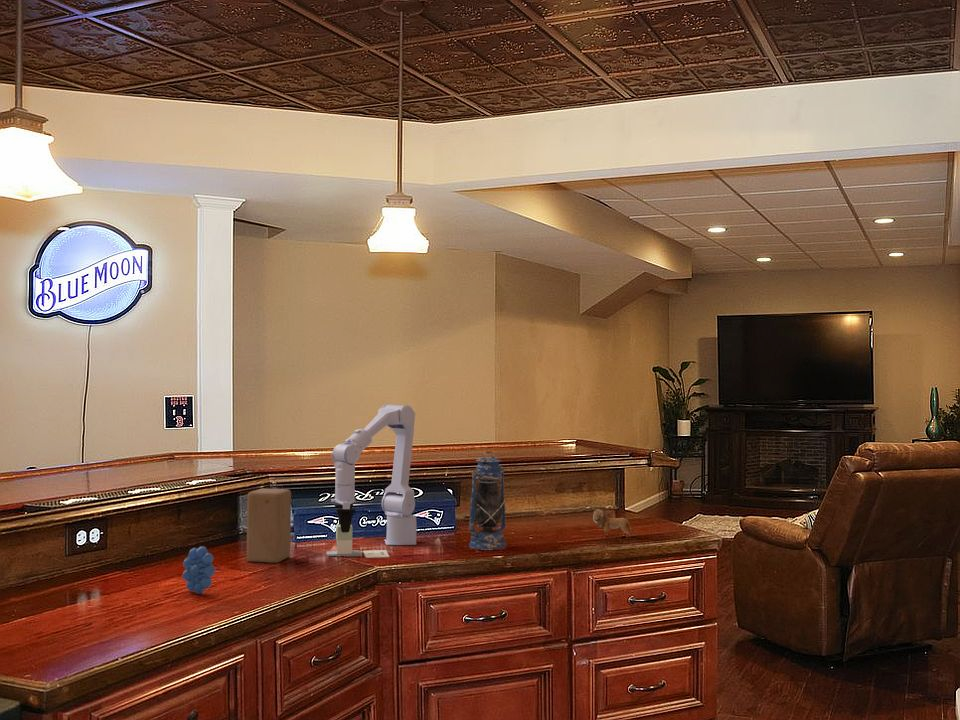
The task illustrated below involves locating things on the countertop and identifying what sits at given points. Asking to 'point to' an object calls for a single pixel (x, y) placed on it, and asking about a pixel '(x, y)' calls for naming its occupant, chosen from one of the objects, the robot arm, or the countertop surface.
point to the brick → (344, 546)
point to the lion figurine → (610, 521)
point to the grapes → (198, 570)
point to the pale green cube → (343, 533)
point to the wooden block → (268, 525)
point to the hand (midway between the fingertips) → (344, 529)
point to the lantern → (487, 505)
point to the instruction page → (376, 554)
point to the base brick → (354, 553)
